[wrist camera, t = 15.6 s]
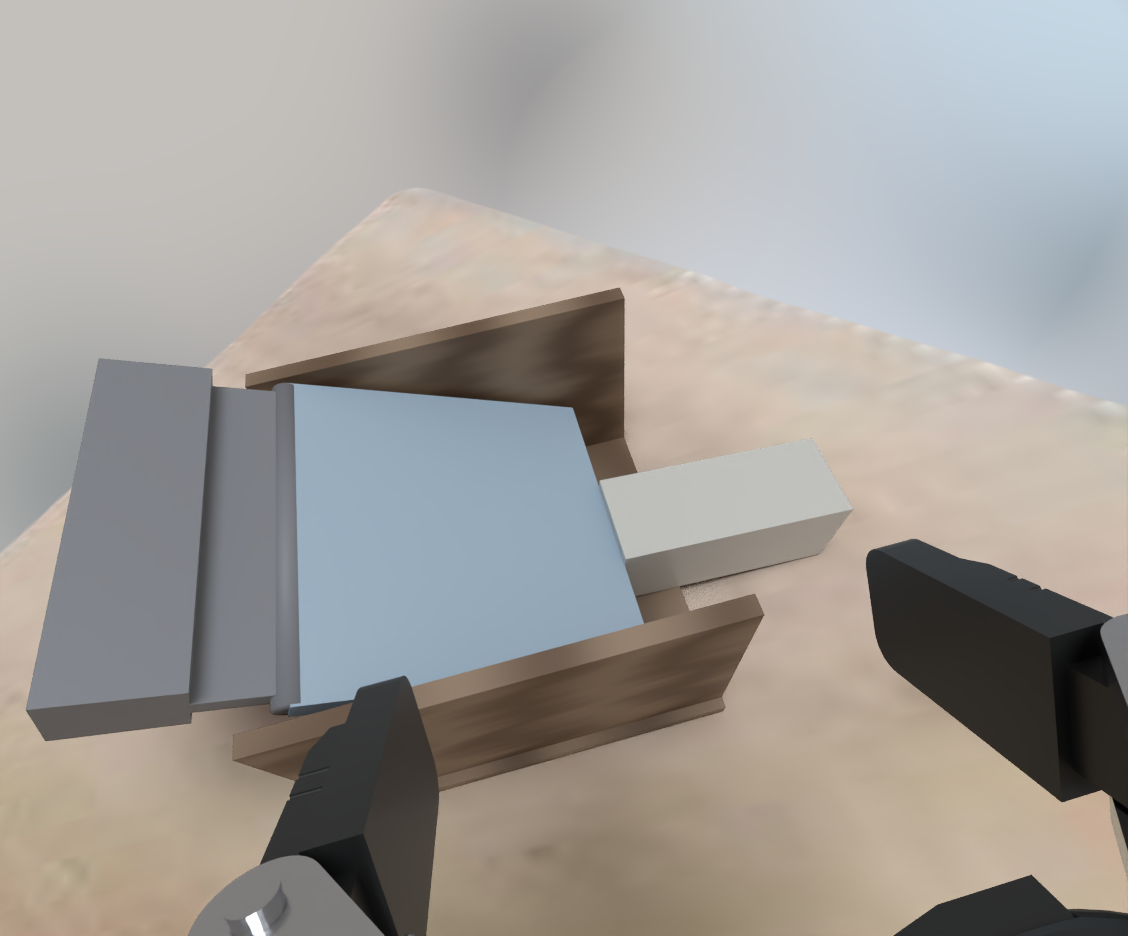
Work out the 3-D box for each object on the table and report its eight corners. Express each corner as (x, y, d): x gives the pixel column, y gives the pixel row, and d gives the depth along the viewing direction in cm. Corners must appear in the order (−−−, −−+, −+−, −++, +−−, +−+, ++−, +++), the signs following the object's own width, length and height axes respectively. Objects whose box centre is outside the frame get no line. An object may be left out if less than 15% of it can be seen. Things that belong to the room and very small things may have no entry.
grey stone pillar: (625, 559, 31) (853, 509, 33) (599, 480, 33) (812, 437, 35) (616, 600, 35) (819, 553, 37) (594, 527, 38) (784, 487, 39)
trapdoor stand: (361, 813, 31) (231, 776, 21) (340, 497, 41) (246, 366, 31) (723, 710, 33) (770, 628, 22) (618, 428, 43) (616, 281, 32)
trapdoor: (42, 757, 20) (21, 728, 18) (109, 399, 28) (100, 349, 26) (636, 679, 30) (668, 654, 28) (559, 430, 38) (579, 395, 36)
